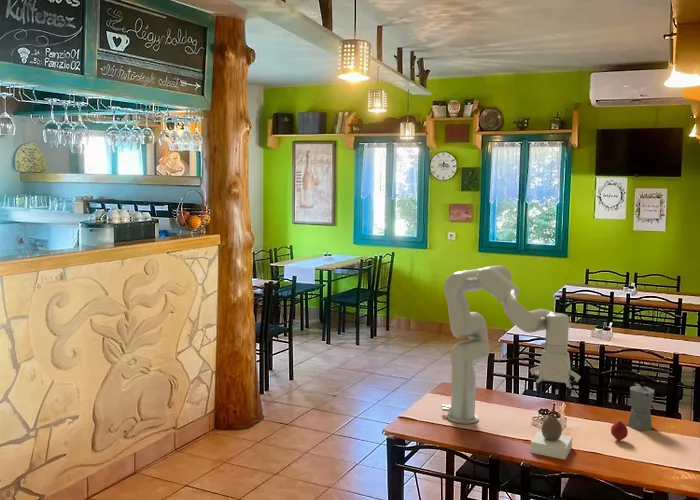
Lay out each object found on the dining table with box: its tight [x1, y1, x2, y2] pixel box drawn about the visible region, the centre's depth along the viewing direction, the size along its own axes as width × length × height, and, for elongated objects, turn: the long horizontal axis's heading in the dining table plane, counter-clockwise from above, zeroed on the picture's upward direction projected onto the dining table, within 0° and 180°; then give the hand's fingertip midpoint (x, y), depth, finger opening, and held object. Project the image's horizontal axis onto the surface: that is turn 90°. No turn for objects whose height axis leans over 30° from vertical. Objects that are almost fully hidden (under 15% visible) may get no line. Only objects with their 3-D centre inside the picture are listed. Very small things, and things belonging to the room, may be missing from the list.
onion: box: [610, 419, 629, 442], centre depth 248 cm, size 6×6×8 cm
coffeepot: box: [627, 381, 655, 432], centre depth 264 cm, size 15×9×18 cm, turn 176°
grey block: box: [529, 430, 573, 460], centre depth 239 cm, size 12×12×4 cm
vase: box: [541, 414, 563, 441], centre depth 238 cm, size 7×7×9 cm
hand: (553, 395), depth 237 cm, fingers open, 9 cm apart
